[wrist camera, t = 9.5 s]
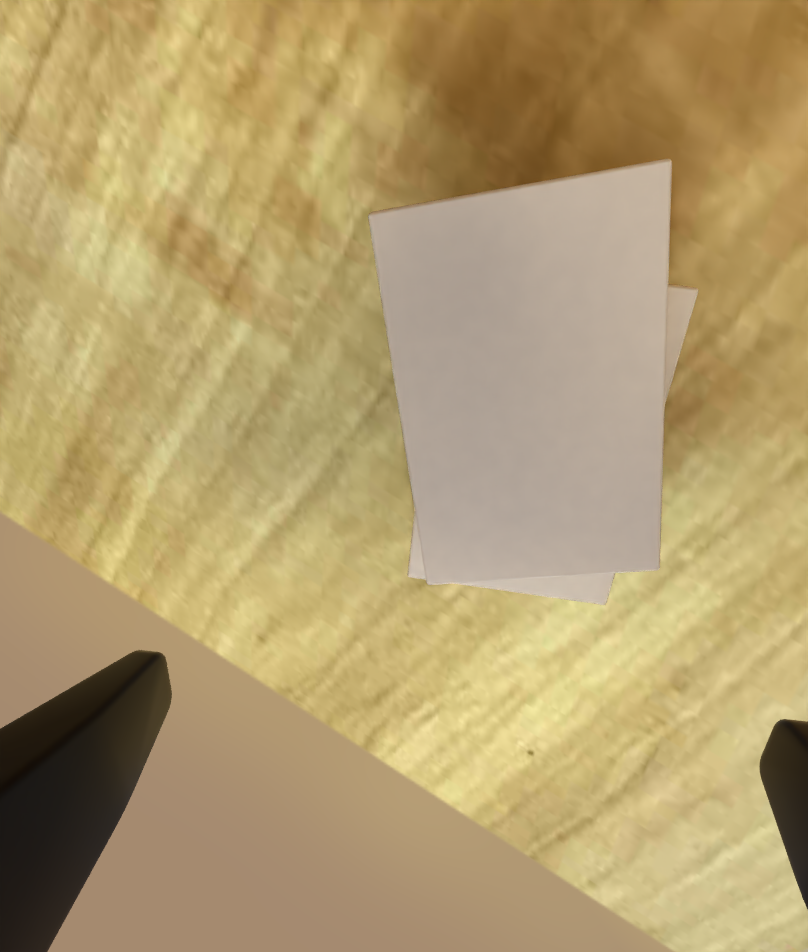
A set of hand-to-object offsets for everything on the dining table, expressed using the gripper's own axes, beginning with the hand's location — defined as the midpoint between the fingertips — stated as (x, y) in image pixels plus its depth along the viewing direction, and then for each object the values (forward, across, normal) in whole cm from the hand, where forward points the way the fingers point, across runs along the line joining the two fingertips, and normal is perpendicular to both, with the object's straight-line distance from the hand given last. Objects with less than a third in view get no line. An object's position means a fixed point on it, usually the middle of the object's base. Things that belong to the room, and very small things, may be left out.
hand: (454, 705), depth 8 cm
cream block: (+10, -2, -3) cm, 10 cm away
